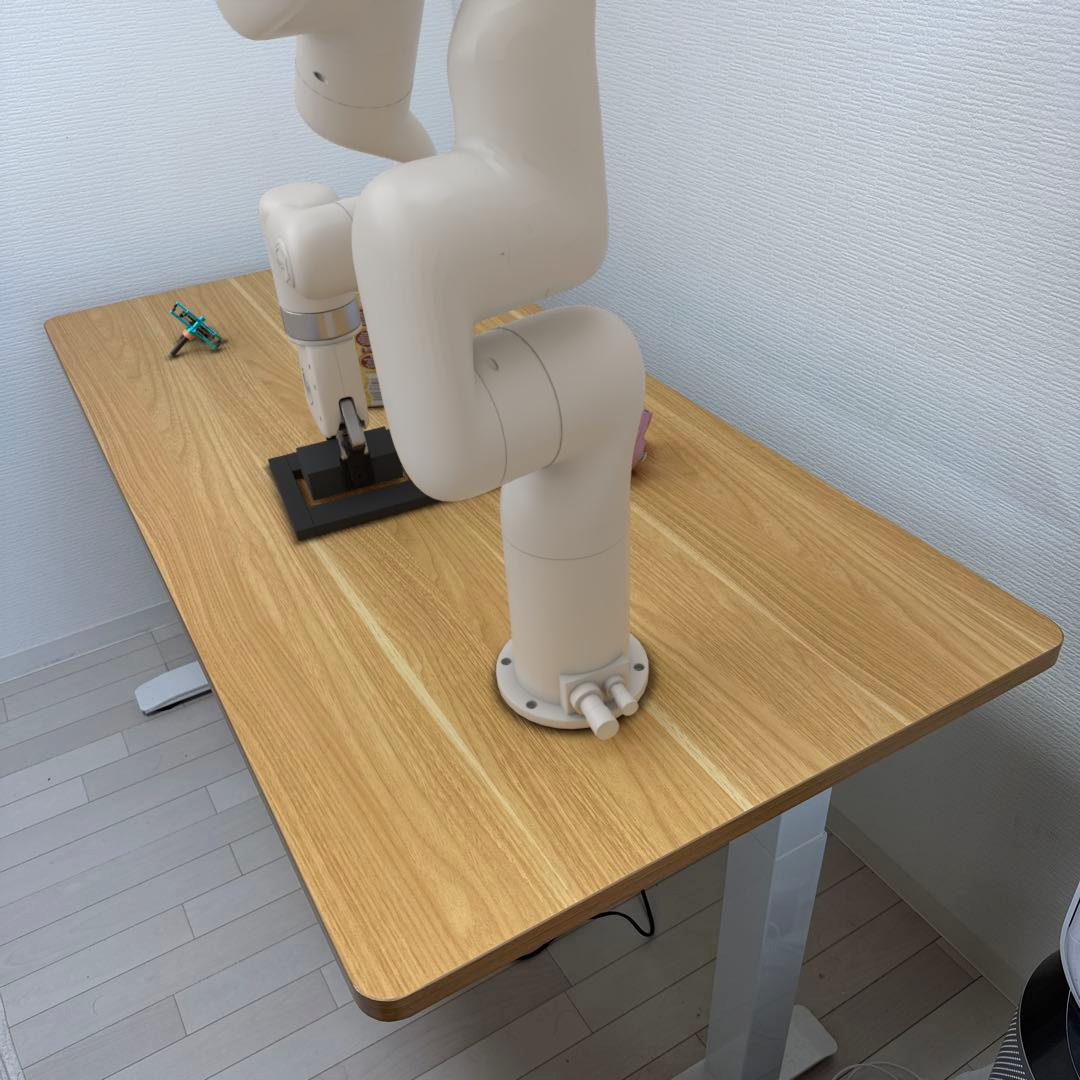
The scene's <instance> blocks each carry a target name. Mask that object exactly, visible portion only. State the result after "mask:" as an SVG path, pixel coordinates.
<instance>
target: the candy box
mask: <svg viewBox="0 0 1080 1080" xmlns="http://www.w3.org/2000/svg"><path fill="white" fill-rule="evenodd" d="M356 293H357V299H358V305H359V311H360V316H361V322H362V328H361V330H360V331H359V333H357V334H356V335H355V336H353V337H354V342H355V346H356V351H357V355H358V361H359V365H360V370H361V375H362V380H363V385H364V391H365V396H366V402H367V408H368V407H369V408H372V407H384V404H383V400H382V395H381V391H380V386H379V381H378V377H377V372H376V367H375V363H374V358H373V354H372V349H371V345H370V340H369V335H368V331H367V326H366V322H365V317H364V312H363V308H362V303H361V299H360V294H359V289H357V290H356Z"/></svg>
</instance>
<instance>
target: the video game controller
mask: <svg viewBox="0 0 1080 1080" xmlns="http://www.w3.org/2000/svg"><path fill="white" fill-rule="evenodd" d="M652 418H653V412H651V411H650V410H648V409H646V408H643V410H642V415H641V420H640V424H639V428H638V433H637V437H636V441H635V447H634V452H633V459H632V468H631V470H632V469H634V467H635V466H636V465H637V463H638V462H640V463H643V462H644V461H645V460H646V458H647V457H648V456H647V453H648V452H647V451H645V452H644V450H645V447H646V443H647V440H646V439H645V436H646V433H647V430H648V428H649V426H650V423H651V420H652Z"/></svg>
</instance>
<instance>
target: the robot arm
mask: <svg viewBox="0 0 1080 1080" xmlns="http://www.w3.org/2000/svg"><path fill="white" fill-rule="evenodd" d="M214 1H215V4H216V6H217V8H218V10H219V12H220V14H221V15H222V17H223V19H224V21H225V22H226V23H227V24H228V25H229V27H230V28H231V29H232V30H233V31H234V32H235V33H237V34H238V35H240V36H241V37H243V38H245V39H247V40H251V41H254V42H255V41H270V40H275V39H282V38H287V37H294V36H295V61H294V64H295V66H294V88H293V94H294V95H293V96H294V103H295V106H296V109H297V111H298V114H299V116H300V117H301V119H302V121H303V122H304V123H305V125H307V127H309V128H310V130H311V131H313V132H314V133H315V134H317V136H320V137H321V138H322V139H324V140H326V141H328V142H329V143H332V144H334V145H337V146H339V147H342V148H345V149H349V150H352V151H354V152H359V153H363V154H368V155H371V156H376V157H379V158H384V159H387V160H390V161H393V166H392V167H390V168H388V169H385V170H384V171H382V172H379V174H377V175H376V176H375V177H373V178H372V179H371V180H370V181H369V182H368V183H367V184H366V185H365V187H364V188H363V189H362V191H361V192H360V194H359V195H356V196H352V197H347V198H343V199H340V197H339V195H338V194H337V191H335V190H334V189H333V188H332V187H331V186H329V185H327V184H325V183H321V182H314V181H299V182H291V183H286V184H282V185H278V186H276V187H273V188H271V189H269V190H267V191H266V192H265V193H264V194H263V195H262V196H261V197H260V199H259V202H258V215H259V222H260V225H261V230H262V235H263V239H264V243H265V248H266V252H267V256H268V261H269V265H270V270H271V275H272V277H273V283H274V287H275V292H276V297H277V300H278V305H279V311H280V315H281V321H282V324H283V328H284V333H285V337H286V339H287V340H288V341H289V342H290V343H293V344H294V345H295V346H296V351H297V357H298V362H299V368H300V373H301V378H302V384H303V389H304V395H305V400H306V404H307V407H308V410H309V412H310V414H311V415H312V418H313V420H314V422H315V424H316V426H317V427H318V430H319V432H320V434H321V435H322V436H323V437H325V441H327V440H331V439H335V438H337V442H338V446H339V450H340V453H341V457H338V458H339V462H340V467H341V472H342V477H343V482H344V486H345V488H346V490H348V491H349V490H353V489H357V488H361V487H365V486H369V485H372V484H374V482H375V480H374V474H373V469H372V463H371V458H370V452H369V450H368V447H367V443H366V439H365V435H364V431H365V430H366V429H367V428H368V427H369V425H370V417H369V415H370V414H369V408H368V407H367V402H366V396H365V391H364V385H363V380H362V375H361V370H360V365H359V361H358V355H357V351H356V345H355V338H354V336H355V335H356V334H357V333H359V331H360V330H361V328H362V322H361V316H360V311H359V305H358V299H357V293H356V290H357V289H359V294H360V299H361V303H362V308H363V312H364V317H365V322H366V326H367V331H368V335H369V340H370V345H371V349H372V354H373V358H374V363H375V367H376V372H377V377H378V381H379V386H380V391H381V395H382V400H383V404H384V406H383V408H384V413H385V417H386V420H387V425H388V429H389V430H390V433H391V437H392V440H393V443H394V446H395V449H396V451H397V454H398V456H399V459H400V461H401V463H402V468H403V470H404V471H405V473H406V474H407V476H408V478H409V480H412V482H413V483H414V484H415V485H416V486H417V487H418V488H419V489H420V490H421V491H422V492H423V493H425V494H426V495H428V496H430V497H432V498H434V499H437V500H441V502H447V503H448V502H449V503H450V502H451V503H452V502H461V501H465V500H469V499H472V498H476V497H478V496H481V495H483V494H486V493H488V492H491V491H493V490H496V489H499V488H500V495H499V520H500V521H499V522H500V531H501V542H502V551H503V561H504V572H505V580H506V581H505V583H506V592H507V601H508V602H507V605H508V611H509V612H508V613H509V622H510V623H509V624H510V632H511V633H510V634H511V637H510V639H509V640H508V641H507V642H506V643H505V644H504V645H503V647H502V649H501V650H500V652H499V655H498V657H497V660H496V666H495V667H496V670H495V671H496V672H495V673H496V674H495V675H496V683H497V687H498V690H499V693H500V695H501V697H502V698H503V700H504V701H505V703H506V704H507V705H508V706H509V708H511V709H512V710H513V711H514V712H515V713H516V714H518V715H519V716H521V717H523V718H524V719H526V720H528V721H530V722H532V723H536V724H538V725H541V726H545V727H549V728H554V729H564V730H565V729H566V730H567V729H568V730H577V729H586V728H587V729H589V728H590V729H591V730H592V732H593V733H594V735H595V737H596V738H597V739H598V740H601V741H606V740H610V739H611V738H613V737H614V736H615V735H617V733H618V732H619V729H620V724H619V721H618V720H617V719H618V718H619V717H621V716H623V715H624V716H625V717H628V716H633V715H634V714H635V713H636V712H638V709H639V703H638V702H639V701H640V699H641V698H642V697H643V695H644V693H645V692H646V688H647V685H648V684H649V683H648V681H649V675H650V674H649V673H650V671H649V659H648V655H647V653H646V652H647V651H646V650H645V648H644V647H643V645H642V643H641V642H640V640H638V639H637V637H636V636H634V635H633V633H631V602H630V601H631V594H630V593H631V591H630V590H631V579H630V578H631V577H630V576H631V572H630V571H631V565H630V564H631V562H630V561H631V560H630V559H631V558H630V557H631V555H630V553H631V551H630V550H631V549H630V548H631V544H630V543H631V540H630V539H631V538H630V537H631V535H630V533H631V531H630V529H631V527H630V526H631V480H632V469H633V468H632V459H633V452H634V447H635V441H636V437H637V433H638V428H639V424H640V420H641V415H642V410H643V409H644V406H645V404H644V403H645V397H646V384H647V383H646V369H645V362H644V357H643V354H642V351H641V348H640V345H639V343H638V341H637V339H636V336H635V335H634V334H633V332H632V330H631V329H630V328H629V327H628V326H627V325H626V323H625V322H624V321H623V320H622V319H620V318H619V317H618V316H617V315H616V314H613V313H611V312H610V311H608V310H607V309H603V308H601V307H597V306H595V305H586V304H572V305H571V304H569V305H564V306H557V307H552V308H548V309H546V310H545V309H544V310H542V311H538V312H536V313H533V314H530V315H527V316H524V317H522V318H518V319H516V320H512V321H510V322H506V323H504V324H501V325H498V326H495V327H492V328H490V329H489V330H485V331H483V332H480V333H477V334H475V333H474V331H475V327H476V326H477V324H478V323H481V322H482V321H485V320H488V319H491V318H495V317H497V316H500V315H504V314H506V313H509V312H513V311H514V310H518V309H521V308H523V307H527V306H529V305H533V304H535V303H538V302H542V301H544V300H547V299H549V298H552V297H555V296H557V295H560V294H562V293H565V292H567V291H570V290H572V289H574V288H576V287H579V286H580V285H582V284H584V283H585V282H587V281H589V280H590V279H591V278H592V277H593V276H595V275H596V273H597V272H598V271H599V270H600V268H602V266H603V264H604V262H605V260H606V257H607V253H608V248H609V238H610V237H609V236H610V218H609V217H610V215H609V198H608V186H607V172H606V161H605V148H604V147H605V145H604V134H603V122H602V120H603V119H602V108H601V96H600V95H601V94H600V84H599V76H598V75H599V74H598V65H597V49H596V48H597V47H596V18H597V17H596V15H597V0H461V3H460V4H459V8H458V11H457V13H456V16H455V20H454V23H453V27H452V30H451V32H450V36H449V42H448V46H447V53H446V74H447V84H448V89H449V95H450V101H451V107H452V114H453V123H454V142H453V146H452V148H451V150H450V151H449V152H444V153H443V152H442V153H440V154H439V153H438V151H437V148H436V147H435V143H434V142H433V140H432V138H431V135H430V134H429V132H428V131H427V129H426V128H425V127H424V125H423V124H422V122H421V121H420V120H419V119H418V118H417V116H416V115H415V114H414V113H413V112H412V111H411V110H410V105H411V99H412V93H413V86H414V80H415V73H416V64H417V59H418V50H419V44H420V35H421V29H422V24H423V23H422V22H423V15H424V8H425V1H426V0H214ZM474 334H475V335H474ZM347 435H348V437H349V442H347V443H346V446H345V444H344V440H343V436H347ZM631 468H632V469H631ZM369 487H370V486H369ZM365 488H366V487H365ZM361 489H362V488H361Z"/></svg>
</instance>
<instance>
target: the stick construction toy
mask: <svg viewBox="0 0 1080 1080" xmlns="http://www.w3.org/2000/svg"><path fill="white" fill-rule="evenodd" d="M177 307H179V308H180V309H182V311H181V312H179V314H177V313H176V312H175V311H176V310H177ZM169 314H170V315H172V316H173V317H174V318H176V319H177V320H178V321H179V322H181V323H182V324H183V325H184V326H186V327H185V328H184V329H183V330H182V332H181V333H182V334H181V335H180V336H179V337H178V338H179V339H180V340H179V341H178V342H177V344H176V345H175V346H174V347H173V348H172V350H171V351H170V352H169V354H170V355H171V357H176V355H177V354H178V353H179V352H180V350H182V348H184V346H185V345H186V344H187V343H188V342H189V341H193V339H194V338H195V336H196V335H197V336H198V337H199V338H201V339H202V340H203V341H204V342H205V343H207V345H209V346H210V347H212V348H213V349H214V350H215V351H216V350H217V349H218V348H219V347H220V346H221V344H220V343H221V342H222V341H223V337H221V336H220V335H219V334H218V333H217V332H216V331H214V330H213V329H212V328H211V327H209V326H208V325H207V324H206V323H205V322H206V320H207V319H206V318H205V317H204V316H203V315H201V316H200V317H197V316H196V314H194V313H192V312H191V311H190V310H189V309H187V308H186V307H185V306H184V305H183V304H181V303H180V302H179V301H176V302H175V304H174V305H173V307H172V308H171V310H170V311H169ZM208 332H210V334H211V336H210V335H209V334H207V333H208ZM215 337H216V338H217V340H216V344H213V343H212V341H210V340H209V338H210V339H212V340H214V339H215Z"/></svg>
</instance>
